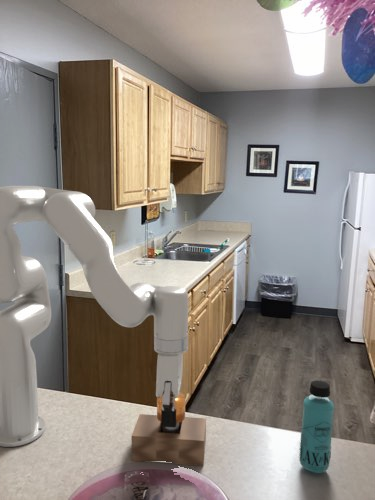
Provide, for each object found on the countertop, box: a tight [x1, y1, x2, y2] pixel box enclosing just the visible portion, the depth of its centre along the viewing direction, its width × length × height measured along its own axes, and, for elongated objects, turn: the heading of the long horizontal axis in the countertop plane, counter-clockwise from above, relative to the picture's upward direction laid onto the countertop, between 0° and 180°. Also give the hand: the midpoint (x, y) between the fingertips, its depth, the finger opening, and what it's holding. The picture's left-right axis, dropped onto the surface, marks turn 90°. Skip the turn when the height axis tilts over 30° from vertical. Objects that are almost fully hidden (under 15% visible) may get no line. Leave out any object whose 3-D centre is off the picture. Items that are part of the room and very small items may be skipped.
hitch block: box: [131, 413, 207, 467], centre depth 98 cm, size 16×9×6 cm, turn 85°
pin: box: [156, 391, 186, 434], centre depth 98 cm, size 6×6×10 cm
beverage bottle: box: [299, 380, 335, 474], centre depth 91 cm, size 6×7×20 cm
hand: (171, 416), depth 97 cm, fingers closed on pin, 6 cm apart
